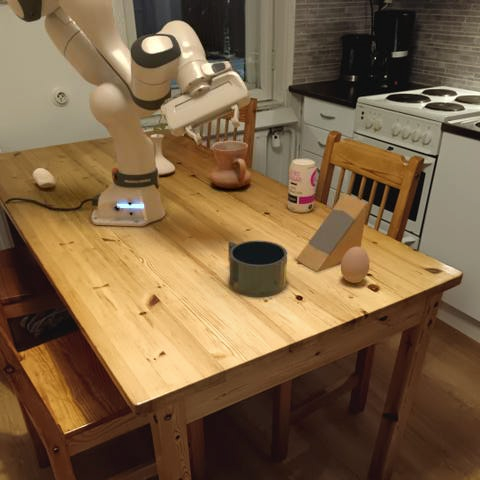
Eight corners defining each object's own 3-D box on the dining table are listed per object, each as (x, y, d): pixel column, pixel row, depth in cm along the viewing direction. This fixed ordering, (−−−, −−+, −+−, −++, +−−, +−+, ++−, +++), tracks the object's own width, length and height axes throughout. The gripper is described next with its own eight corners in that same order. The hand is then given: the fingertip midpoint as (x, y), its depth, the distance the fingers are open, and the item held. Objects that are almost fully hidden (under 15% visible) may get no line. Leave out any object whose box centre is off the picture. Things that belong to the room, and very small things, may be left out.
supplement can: (315, 205, 163) (319, 159, 155) (309, 215, 157) (313, 167, 148) (291, 202, 165) (293, 156, 157) (284, 211, 159) (287, 164, 150)
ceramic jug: (202, 181, 183) (201, 141, 175) (238, 175, 188) (238, 136, 181) (223, 197, 170) (222, 154, 162) (261, 190, 175) (262, 149, 167)
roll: (42, 194, 172) (39, 178, 169) (34, 184, 180) (30, 168, 177) (60, 191, 175) (57, 175, 171) (51, 181, 183) (47, 166, 180)
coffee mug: (297, 284, 120) (299, 254, 116) (254, 303, 113) (255, 271, 109) (249, 258, 132) (250, 230, 127) (208, 274, 125) (207, 244, 120)
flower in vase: (162, 179, 185) (156, 107, 171) (139, 174, 190) (131, 103, 176) (184, 170, 194) (180, 101, 180) (161, 165, 199) (155, 98, 185)
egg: (348, 290, 118) (353, 255, 113) (333, 278, 123) (337, 244, 118) (372, 285, 120) (378, 250, 115) (356, 273, 125) (361, 239, 120)
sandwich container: (294, 259, 131) (298, 204, 123) (337, 245, 139) (343, 192, 130) (316, 272, 126) (321, 215, 117) (359, 256, 133) (368, 202, 124)
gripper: (153, 95, 117) (173, 146, 114) (234, 57, 114) (256, 108, 112) (162, 110, 123) (181, 159, 120) (239, 75, 121) (260, 123, 118)
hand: (218, 134), depth 116 cm, fingers open, 8 cm apart
